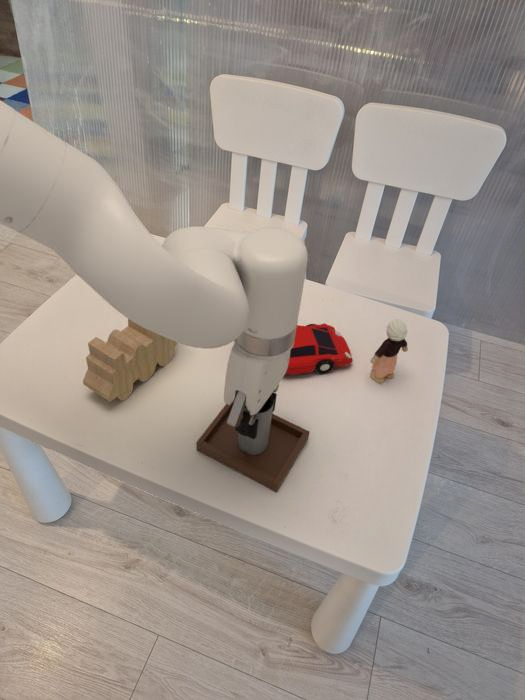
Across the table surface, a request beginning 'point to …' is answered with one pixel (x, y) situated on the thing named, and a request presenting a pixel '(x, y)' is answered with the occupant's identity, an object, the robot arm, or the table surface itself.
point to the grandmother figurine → (389, 351)
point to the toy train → (125, 360)
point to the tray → (260, 467)
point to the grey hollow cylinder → (258, 430)
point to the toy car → (318, 350)
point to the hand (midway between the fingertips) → (255, 419)
